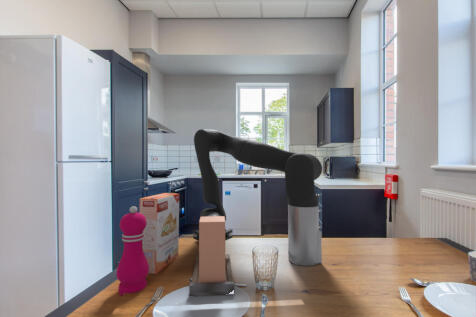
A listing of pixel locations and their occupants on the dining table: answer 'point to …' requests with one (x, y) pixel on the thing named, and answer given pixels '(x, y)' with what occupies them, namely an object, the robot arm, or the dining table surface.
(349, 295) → the dining table surface
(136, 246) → the pepper mill
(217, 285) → the chute
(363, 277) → the dining table surface
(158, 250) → the cracker box
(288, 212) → the robot arm
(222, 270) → the block
